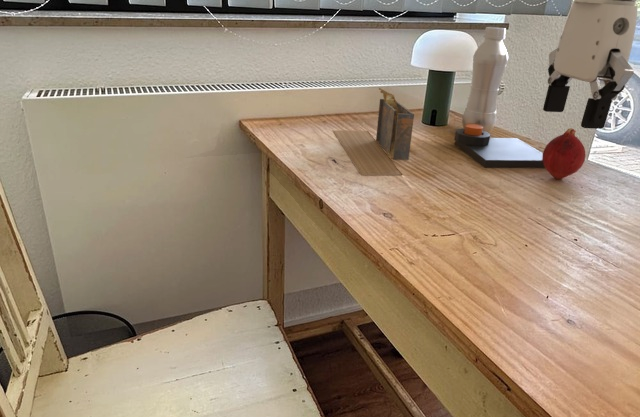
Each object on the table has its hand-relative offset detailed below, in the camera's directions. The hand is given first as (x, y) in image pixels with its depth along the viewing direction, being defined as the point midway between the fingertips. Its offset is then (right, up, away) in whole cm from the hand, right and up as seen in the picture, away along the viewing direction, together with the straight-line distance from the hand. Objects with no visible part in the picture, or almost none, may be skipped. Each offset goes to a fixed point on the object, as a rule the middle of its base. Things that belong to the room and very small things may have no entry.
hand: (571, 119), depth 72 cm
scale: (-5, -4, +13) cm, 15 cm away
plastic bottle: (-5, +2, +27) cm, 28 cm away
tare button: (-10, 0, +15) cm, 18 cm away
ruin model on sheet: (-25, -3, +14) cm, 28 cm away
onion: (0, -9, +4) cm, 10 cm away
